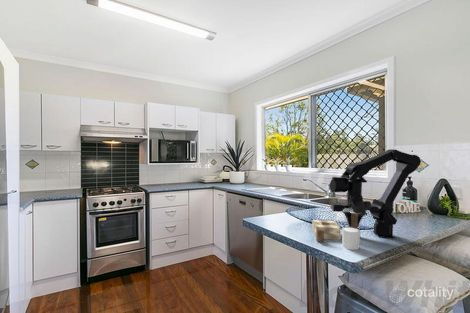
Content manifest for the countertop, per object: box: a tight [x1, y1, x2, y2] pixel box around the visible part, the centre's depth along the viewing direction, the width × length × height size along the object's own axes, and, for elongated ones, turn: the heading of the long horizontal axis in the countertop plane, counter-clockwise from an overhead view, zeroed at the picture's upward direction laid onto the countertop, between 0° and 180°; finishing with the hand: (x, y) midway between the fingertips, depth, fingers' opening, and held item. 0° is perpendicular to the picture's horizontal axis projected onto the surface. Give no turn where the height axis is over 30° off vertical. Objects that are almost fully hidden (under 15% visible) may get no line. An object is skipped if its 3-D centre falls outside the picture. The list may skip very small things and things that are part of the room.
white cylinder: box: [341, 226, 362, 251], centre depth 96 cm, size 7×7×7 cm
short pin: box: [315, 228, 325, 243], centre depth 102 cm, size 3×3×5 cm
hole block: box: [311, 219, 342, 240], centre depth 109 cm, size 10×10×5 cm
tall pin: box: [350, 212, 358, 229], centre depth 108 cm, size 3×3×10 cm
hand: (353, 226), depth 108 cm, fingers closed on tall pin, 3 cm apart
